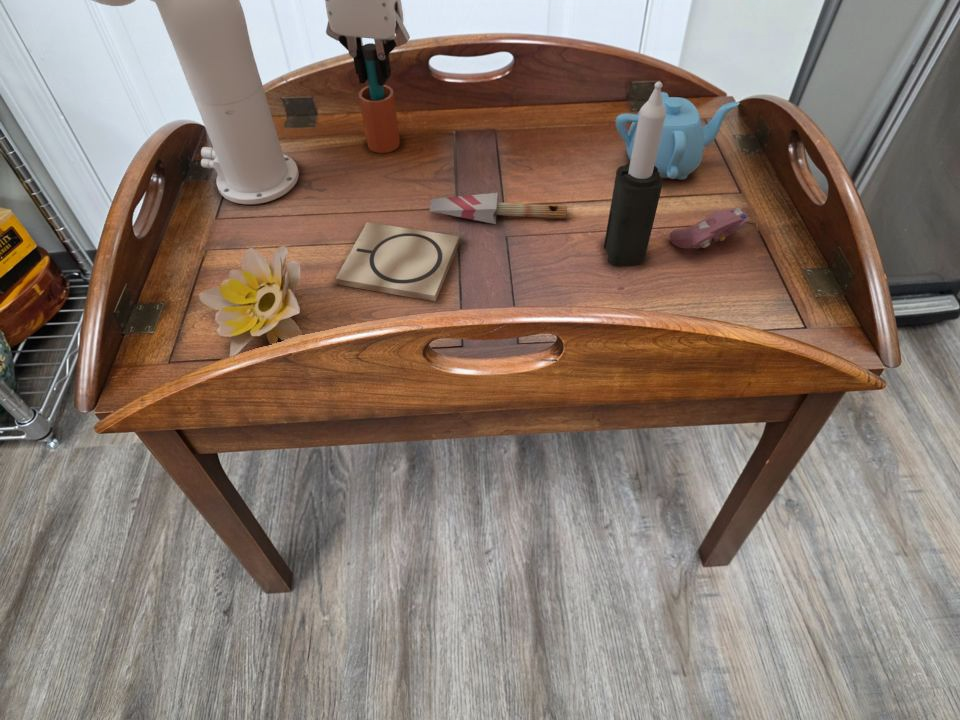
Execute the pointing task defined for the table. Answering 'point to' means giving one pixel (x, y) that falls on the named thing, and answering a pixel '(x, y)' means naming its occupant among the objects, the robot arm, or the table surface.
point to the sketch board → (399, 261)
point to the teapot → (677, 135)
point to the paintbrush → (492, 208)
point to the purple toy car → (710, 229)
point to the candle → (637, 189)
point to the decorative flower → (256, 300)
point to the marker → (372, 72)
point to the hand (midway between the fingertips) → (374, 79)
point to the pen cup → (380, 121)
